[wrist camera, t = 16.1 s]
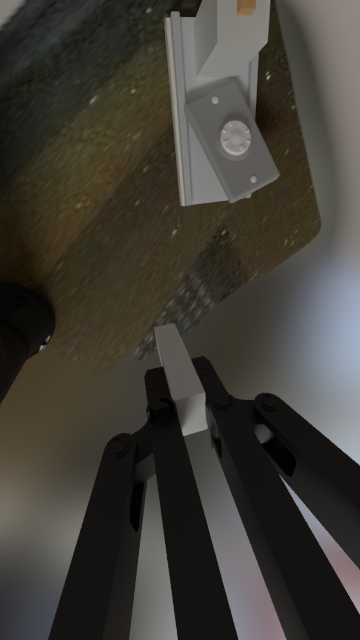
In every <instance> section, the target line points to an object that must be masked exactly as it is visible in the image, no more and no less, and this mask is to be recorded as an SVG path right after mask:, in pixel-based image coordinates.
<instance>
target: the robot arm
mask: <svg viewBox="0 0 360 640" xmlns="http://www.w3.org/2000/svg"><path fill="white" fill-rule="evenodd" d="M54 330H55V319H54V315H53V313H52V311H51V309H50V307H49V306H48V305H47V304H46V302H45V301H44V300H43V299H42V298H41V297H39V296H38V295H37V294H35V293H34V292H32V291H30V290H28V289H26V288H24V287H22V286H19V285H15V284H11V283H5V282H0V405H1V403H2V401H3V399H4V398H5V396H6V394H7V393H8V391H9V389H10V387H11V386H12V384H13V382H14V381H15V379H16V377H17V376H18V374H19V372H20V371H21V369H22V367H23V365H24V364H25V362H26V361H27V360H28V359H30V358H31V357H33V356H34V355H36V354H37V353H39V352H40V351H41V350H43V348H45V347H46V345H47V344H48V343H49V341H50V339H51V337H52V335H53V333H54ZM154 331H155V336H156V341H157V346H158V352H159V357H160V361H161V365H162V367H159V368H154V369H150V370H147V372H146V374H145V377H144V378H145V385H146V393H147V401H148V406H147V410H146V413H147V417H148V421H147V422H146V424H145V425H144V426H143V427H142V428H141V429H140V430H138V431H137V432H135V433H134V434H132V435H130V434H127V433H122V434H118V435H116V436H115V437H113V438H112V439H111V440H110V441H109V442H108V443H107V445H106V447H105V449H104V453H103V456H102V459H101V463H100V466H99V470H98V473H97V476H96V480H95V483H94V487H93V490H92V493H91V496H90V500H89V503H88V507H87V510H86V513H85V517H84V520H83V523H82V528H81V530H80V534H79V537H78V540H77V544H76V547H75V550H74V554H73V557H72V561H71V564H70V568H69V571H68V574H67V578H66V581H65V585H64V587H63V591H62V594H61V598H60V601H59V605H58V608H57V611H56V615H55V618H54V621H53V625H52V628H51V631H50V635H49V638H48V640H129V635H130V626H131V617H132V609H133V600H134V591H135V582H136V574H137V564H138V556H139V547H140V539H141V530H142V521H143V513H144V504H145V494H146V486H147V480H148V479H149V478H150V477H151V476H153V475H154V474H155V473H156V477H157V484H158V492H159V500H160V507H161V514H162V522H163V530H164V537H165V545H166V553H167V560H168V566H169V567H168V568H169V575H170V583H171V590H172V598H173V605H174V613H175V620H176V628H177V636H178V640H238V636H237V633H236V629H235V625H234V622H233V618H232V614H231V611H230V607H229V603H228V599H227V596H226V592H225V588H224V585H223V581H222V577H221V573H220V570H219V566H218V562H217V559H216V555H215V551H214V548H213V544H212V541H211V536H210V533H209V529H208V525H207V522H206V518H205V515H204V511H203V507H202V503H201V499H200V496H199V492H198V489H197V485H196V481H195V477H194V474H193V470H192V466H191V463H190V459H189V455H188V451H187V448H186V444H185V441H184V437H183V436H185V435H189V434H192V433H195V432H199V431H202V430H205V429H207V425H208V427H209V430H210V433H211V434H210V435H211V447H212V448H215V451H216V454H217V456H218V459H219V462H220V464H221V467H222V469H223V472H224V475H225V477H226V480H227V483H228V485H229V488H230V491H231V493H232V496H233V499H234V501H235V504H236V507H237V509H238V512H239V515H240V517H241V520H242V523H243V525H244V528H245V530H246V533H247V536H248V538H249V541H250V544H251V546H252V549H253V552H254V554H255V557H256V560H257V562H258V565H259V567H260V570H261V573H262V576H263V578H264V581H265V583H266V586H267V588H268V591H269V594H270V596H271V599H272V602H273V605H274V607H275V610H276V612H277V615H278V618H279V621H280V623H281V626H282V629H283V631H284V634H285V637H286V639H287V640H360V614H359V612H358V611H357V609H356V607H355V605H354V604H353V602H352V600H351V599H350V597H349V595H348V593H347V592H346V590H345V588H344V586H343V585H342V583H341V581H340V579H339V578H338V576H337V574H336V573H335V571H334V569H333V567H332V566H331V564H330V562H329V561H328V559H327V557H326V555H325V553H324V552H323V550H322V548H321V547H320V545H319V543H318V542H317V540H316V538H315V536H314V534H313V533H312V531H311V529H310V528H309V526H308V524H307V522H306V521H305V519H304V517H303V515H302V514H301V512H300V510H299V508H298V507H297V505H296V503H295V502H294V500H293V498H292V496H291V495H290V493H289V492H288V489H287V488H286V486H285V484H284V482H283V481H282V479H281V477H282V478H283V479H284V480H285V482H286V483H287V484H288V485H289V486H290V487H291V489H292V490H293V491H294V492H295V493H296V494H297V496H298V497H299V498H300V499H301V501H302V502H303V503H304V504H305V505H306V506H307V507H308V509H309V510H310V511H311V512H312V514H313V515H314V516H315V517H316V518H317V519H318V521H319V522H320V523H321V524H322V525H323V527H324V528H325V529H326V530H327V531H328V533H329V534H330V535H331V536H332V537H333V538H334V540H335V541H336V542H337V543H338V544H339V546H340V547H341V548H342V549H343V550H344V552H345V553H346V554H347V555H348V556H349V557H350V559H351V560H352V561H353V562H354V563H355V565H356V566H357V567H358V568H359V569H360V465H358V464H357V463H356V462H355V461H354V460H352V459H351V458H350V457H349V456H348V455H347V454H345V453H344V452H343V451H342V450H341V449H339V448H338V447H337V446H336V445H335V444H334V443H332V442H331V441H330V440H329V439H328V438H326V437H325V436H324V435H323V434H322V433H321V432H319V431H318V430H317V429H316V428H315V427H313V426H312V425H311V424H310V423H309V422H308V421H306V420H305V419H304V418H303V417H302V416H300V415H299V414H298V413H297V412H295V411H294V410H293V409H292V408H291V407H290V406H289V405H287V404H286V403H285V402H284V401H283V400H281V399H280V398H279V397H277V396H276V395H274V394H270V393H261V394H259V395H257V396H256V397H255V400H241V399H237V398H234V397H233V396H232V395H230V394H228V392H227V391H226V389H225V388H224V386H223V384H222V382H221V380H220V379H219V377H218V375H217V373H216V371H215V370H214V368H213V366H212V364H211V363H210V361H209V360H208V359H207V358H205V357H204V356H202V357H198V358H193V359H190V357H189V355H188V353H187V350H186V348H185V346H184V344H183V341H182V339H181V337H180V335H179V332H178V330H177V328H176V326H175V323H173V324H169V325H164V326H159V327H154ZM0 407H1V406H0ZM278 473H279V474H280V476H281V477H280V476H279V474H278Z"/></svg>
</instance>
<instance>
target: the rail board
mask: <svg viewBox="0 0 360 640" xmlns="http://www.w3.org/2000/svg"><path fill="white" fill-rule="evenodd" d="M269 12H270V0H202V3H201V5H200V8H199V10H198V13H197V15H196V17H180V14H179V12H171V15H170V18H166V19H165V23H164V26H165V38H166V49H167V60H168V71H169V82H170V94H171V105H172V116H173V127H174V138H175V150H176V161H177V172H178V183H179V194H180V206H187V205H193V204H201V203H209V202H217V201H225V200H228V198H227V196H226V194H225V192H224V190H223V188H222V186H221V184H220V182H219V180H218V178H217V176H216V174H215V172H214V170H213V168H212V166H211V164H210V162H209V161H208V159H207V157H206V155H205V153H204V151H203V149H202V147H201V145H200V143H199V141H198V139H197V137H196V135H195V133H194V131H193V129H192V127H191V125H190V123H189V121H188V119H187V117H186V115H185V113H184V107H185V104H186V103H188V102H190V101H192V100H194V99H197V98H199V97H201V96H203V95H205V94H207V93H209V92H211V91H213V90H215V89H217V88H220V87H222V86H224V85H226V84H228V83H230V82H232V81H234V80H235V81H236V82H237V84H238V86H239V88H240V90H241V93H242V95H243V97H244V99H245V101H246V103H247V105H248V108H249V110H250V112H251V114H252V116H253V118H254V120H255V112H256V94H257V75H258V57H259V51H260V50H261V49H262V48H263V46H264V45H265V44H266V43H267V41H268V26H269ZM250 197H251V193H250V194H248V195H246V196H245V197H243V198H250Z"/></svg>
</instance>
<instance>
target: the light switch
mask: <svg viewBox="0 0 360 640" xmlns="http://www.w3.org/2000/svg"><path fill="white" fill-rule="evenodd" d="M184 113H185V115H186V117H187V119H188V121H189V123H190V125H191V127H192V129H193V131H194V133H195V135H196V137H197V139H198V141H199V143H200V145H201V147H202V149H203V151H204V153H205V155H206V157H207V159H208V161H209V162H210V164H211V166H212V168H213V170H214V172H215V174H216V176H217V178H218V180H219V182H220V184H221V186H222V188H223V190H224V192H225V194H226V196H227V198H228V200H229V202H230V203H233V202H235V201H237V200H239V199H241V198H243V197H245V196H246V195H248V194H250V193H252V192H254V191H256V190H258V189H259V188H261V187H263V186H265V185H267V184H269V183H271V182H272V181H274V180H276V179H277V178H278V177H279V175H280V174H279V172H278V169H277V167H276V165H275V163H274V161H273V159H272V157H271V154H270V152H269V150H268V148H267V146H266V144H265V142H264V140H263V137H262V135H261V133H260V131H259V129H258V127H257V125H256V122H255V120H254V118H253V116H252V114H251V112H250V110H249V108H248V105H247V103H246V101H245V99H244V97H243V95H242V93H241V90H240V88H239V86H238V84H237V82H236V81H235V80H234V81H232V82H230V83H228V84H226V85H224V86H222V87H220V88H217V89H215V90H213V91H211V92H209V93H207V94H205V95H203V96H201V97H199V98H197V99H194V100H192V101H190V102H188V103H186V104H185V107H184Z"/></svg>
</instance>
